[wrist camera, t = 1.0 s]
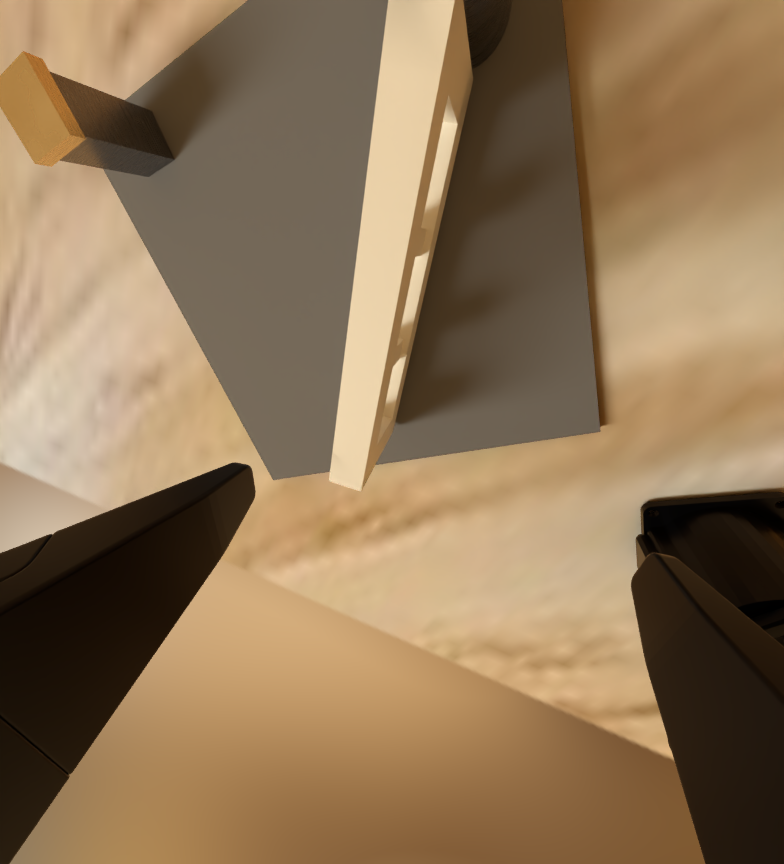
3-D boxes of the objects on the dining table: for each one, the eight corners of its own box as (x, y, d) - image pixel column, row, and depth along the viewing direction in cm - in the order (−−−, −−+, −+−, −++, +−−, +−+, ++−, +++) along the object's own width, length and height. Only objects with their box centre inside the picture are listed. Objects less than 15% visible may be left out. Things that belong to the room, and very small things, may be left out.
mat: (538, -218, 10) (540, -238, 10) (598, 427, 19) (600, 431, 18) (93, 135, 18) (84, 133, 18) (276, 476, 27) (273, 480, 26)
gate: (432, 72, 13) (392, -36, 8) (473, 79, 13) (459, -27, 8) (368, 423, 21) (328, 480, 16) (393, 431, 21) (361, 491, 16)
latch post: (160, 107, 17) (23, 51, 12) (187, 164, 18) (70, 134, 13) (129, 131, 18) (-12, 88, 13) (156, 184, 19) (34, 163, 14)
